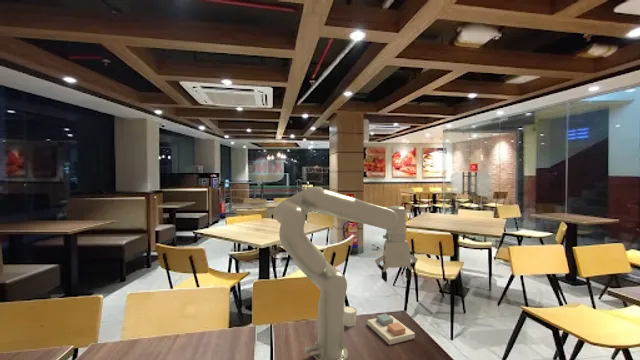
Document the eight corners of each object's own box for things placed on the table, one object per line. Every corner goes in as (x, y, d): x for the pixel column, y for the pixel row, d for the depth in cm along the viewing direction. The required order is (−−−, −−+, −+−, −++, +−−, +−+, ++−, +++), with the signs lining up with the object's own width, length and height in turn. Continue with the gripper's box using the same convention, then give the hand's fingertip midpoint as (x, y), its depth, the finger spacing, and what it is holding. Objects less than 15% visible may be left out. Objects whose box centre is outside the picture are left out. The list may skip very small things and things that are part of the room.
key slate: (383, 326, 125) (383, 321, 125) (376, 321, 130) (376, 315, 130) (393, 324, 127) (393, 318, 127) (386, 319, 132) (386, 313, 132)
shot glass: (355, 330, 127) (356, 314, 127) (339, 328, 128) (340, 312, 128) (357, 322, 134) (357, 306, 134) (341, 320, 135) (342, 305, 135)
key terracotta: (394, 336, 118) (395, 330, 118) (387, 330, 123) (387, 324, 123) (405, 334, 120) (405, 328, 120) (397, 327, 125) (397, 322, 124)
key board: (389, 347, 115) (389, 339, 115) (367, 326, 130) (367, 319, 130) (414, 340, 120) (414, 333, 120) (390, 321, 135) (390, 315, 135)
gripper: (377, 241, 115) (378, 285, 116) (421, 238, 117) (421, 281, 118) (372, 236, 122) (372, 277, 123) (412, 234, 124) (413, 275, 125)
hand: (396, 279), depth 120 cm, fingers open, 9 cm apart
